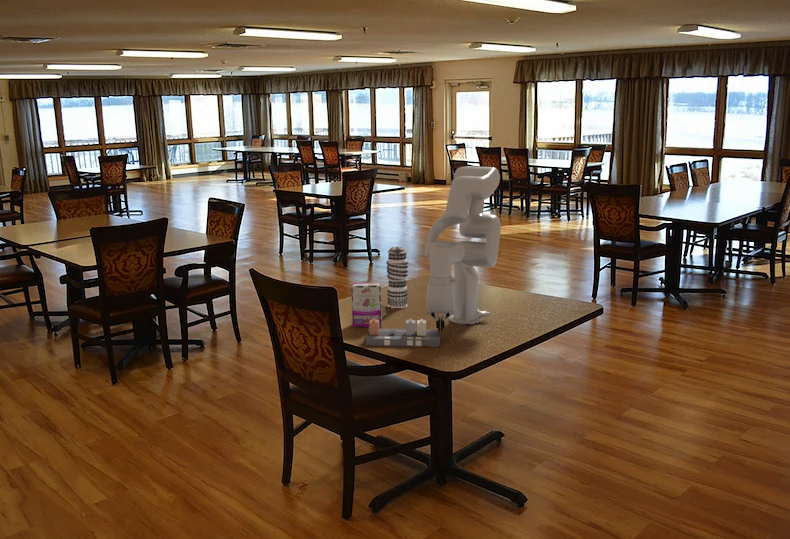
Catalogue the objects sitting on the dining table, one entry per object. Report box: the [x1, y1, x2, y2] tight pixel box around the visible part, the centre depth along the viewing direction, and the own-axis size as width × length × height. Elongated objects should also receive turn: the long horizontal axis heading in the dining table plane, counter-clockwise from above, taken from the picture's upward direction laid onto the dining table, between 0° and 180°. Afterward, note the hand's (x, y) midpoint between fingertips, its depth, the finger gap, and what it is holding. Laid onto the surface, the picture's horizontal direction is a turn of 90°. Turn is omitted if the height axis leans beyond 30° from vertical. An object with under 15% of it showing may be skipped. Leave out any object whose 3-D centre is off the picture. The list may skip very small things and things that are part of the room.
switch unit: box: [365, 328, 441, 348], centre depth 260 cm, size 26×12×3 cm, turn 86°
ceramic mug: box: [381, 302, 387, 319], centre depth 289 cm, size 11×8×8 cm
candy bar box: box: [351, 282, 383, 328], centre depth 277 cm, size 11×5×16 cm, turn 90°
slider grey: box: [405, 318, 416, 336], centre depth 259 cm, size 3×4×5 cm
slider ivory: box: [416, 318, 427, 336], centre depth 259 cm, size 3×4×5 cm
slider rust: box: [368, 318, 380, 335], centre depth 260 cm, size 3×4×5 cm
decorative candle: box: [386, 246, 409, 309], centre depth 304 cm, size 9×9×25 cm
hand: (440, 330), depth 260 cm, fingers closed
